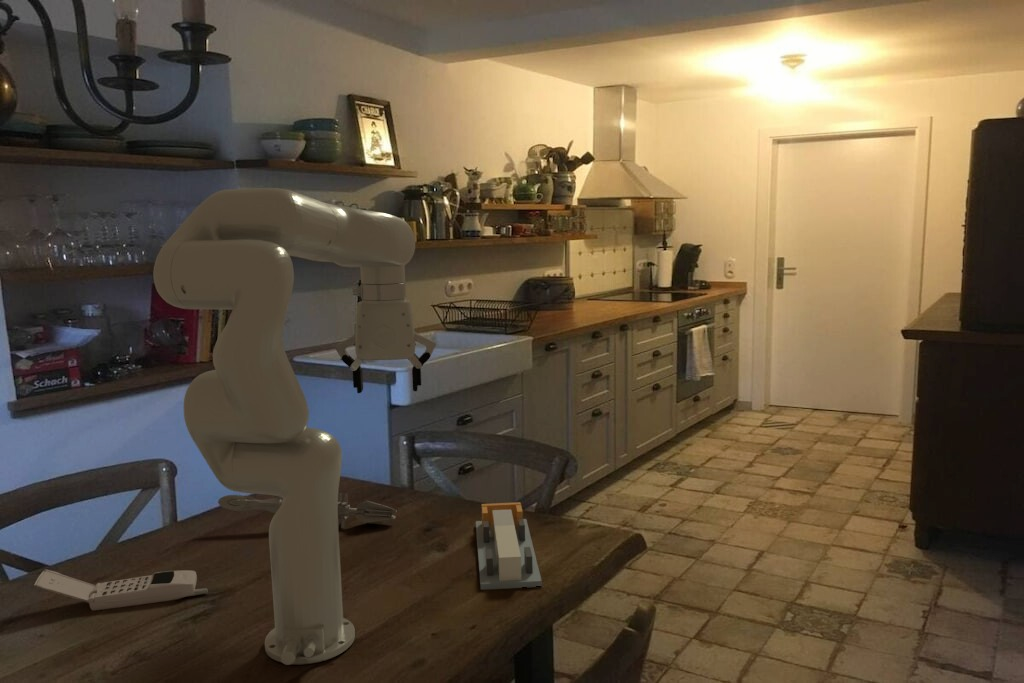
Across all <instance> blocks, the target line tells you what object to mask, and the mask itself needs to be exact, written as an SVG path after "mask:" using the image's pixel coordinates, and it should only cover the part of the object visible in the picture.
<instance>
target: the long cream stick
mask: <svg viewBox="0 0 1024 683" xmlns="http://www.w3.org/2000/svg"><path fill="white" fill-rule="evenodd" d="M492 515H493V535H494V543H495V550H496V558H497V565H498V573H499V581H506V580H521V555H520V550H519V545H518V540H517V535H516V530H515V525H514V520H513V515H512V511H511V509H509V510H492Z"/></svg>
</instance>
